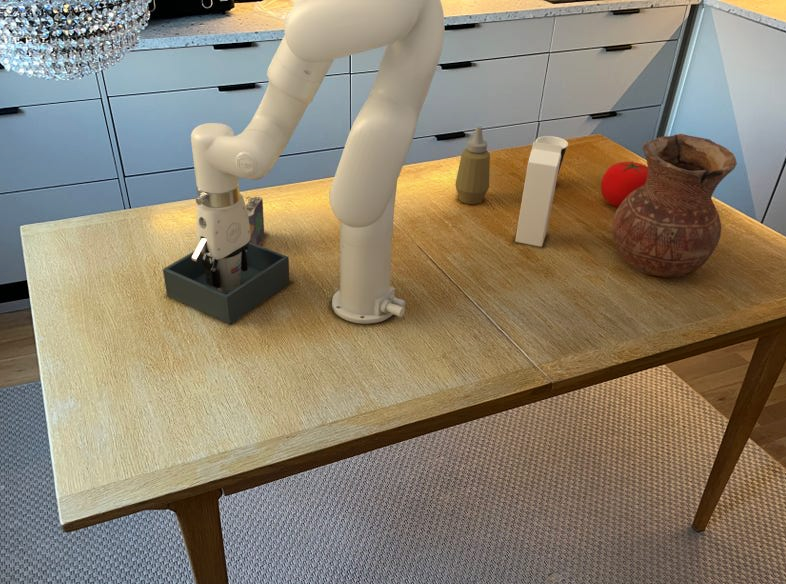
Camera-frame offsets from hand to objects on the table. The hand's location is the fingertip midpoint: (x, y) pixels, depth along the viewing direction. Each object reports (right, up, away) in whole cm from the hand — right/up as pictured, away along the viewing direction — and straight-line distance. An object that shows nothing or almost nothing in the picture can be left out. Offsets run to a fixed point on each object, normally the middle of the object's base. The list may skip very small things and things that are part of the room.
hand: (227, 276), depth 149 cm
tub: (0, -2, +2) cm, 3 cm away
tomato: (+89, +21, +35) cm, 98 cm away
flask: (+3, +9, +17) cm, 19 cm away
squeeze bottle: (+52, +22, +35) cm, 67 cm away
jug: (+89, +5, +14) cm, 91 cm away
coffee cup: (0, -2, +2) cm, 3 cm away
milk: (+64, +11, +21) cm, 68 cm away
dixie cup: (+72, +28, +43) cm, 89 cm away
